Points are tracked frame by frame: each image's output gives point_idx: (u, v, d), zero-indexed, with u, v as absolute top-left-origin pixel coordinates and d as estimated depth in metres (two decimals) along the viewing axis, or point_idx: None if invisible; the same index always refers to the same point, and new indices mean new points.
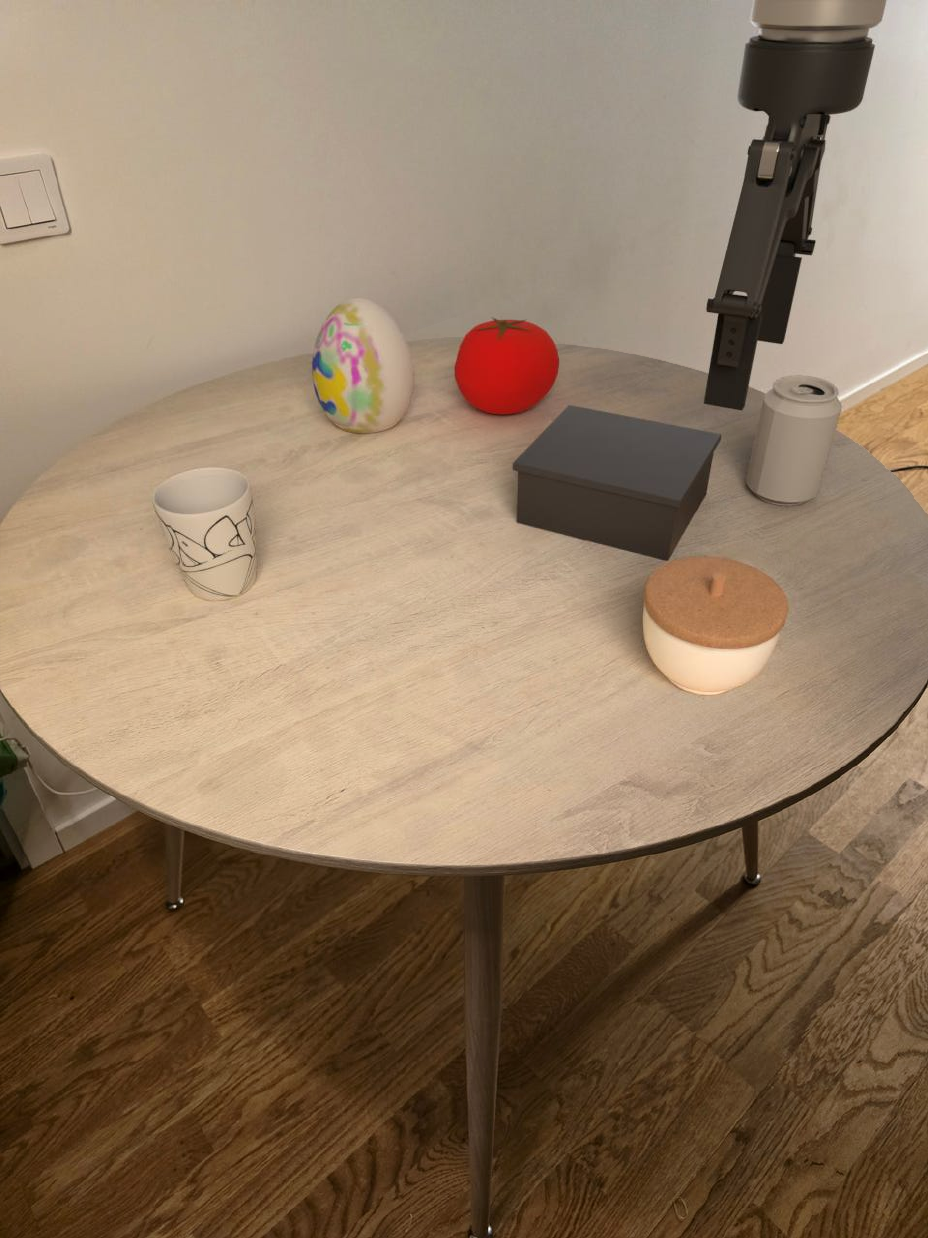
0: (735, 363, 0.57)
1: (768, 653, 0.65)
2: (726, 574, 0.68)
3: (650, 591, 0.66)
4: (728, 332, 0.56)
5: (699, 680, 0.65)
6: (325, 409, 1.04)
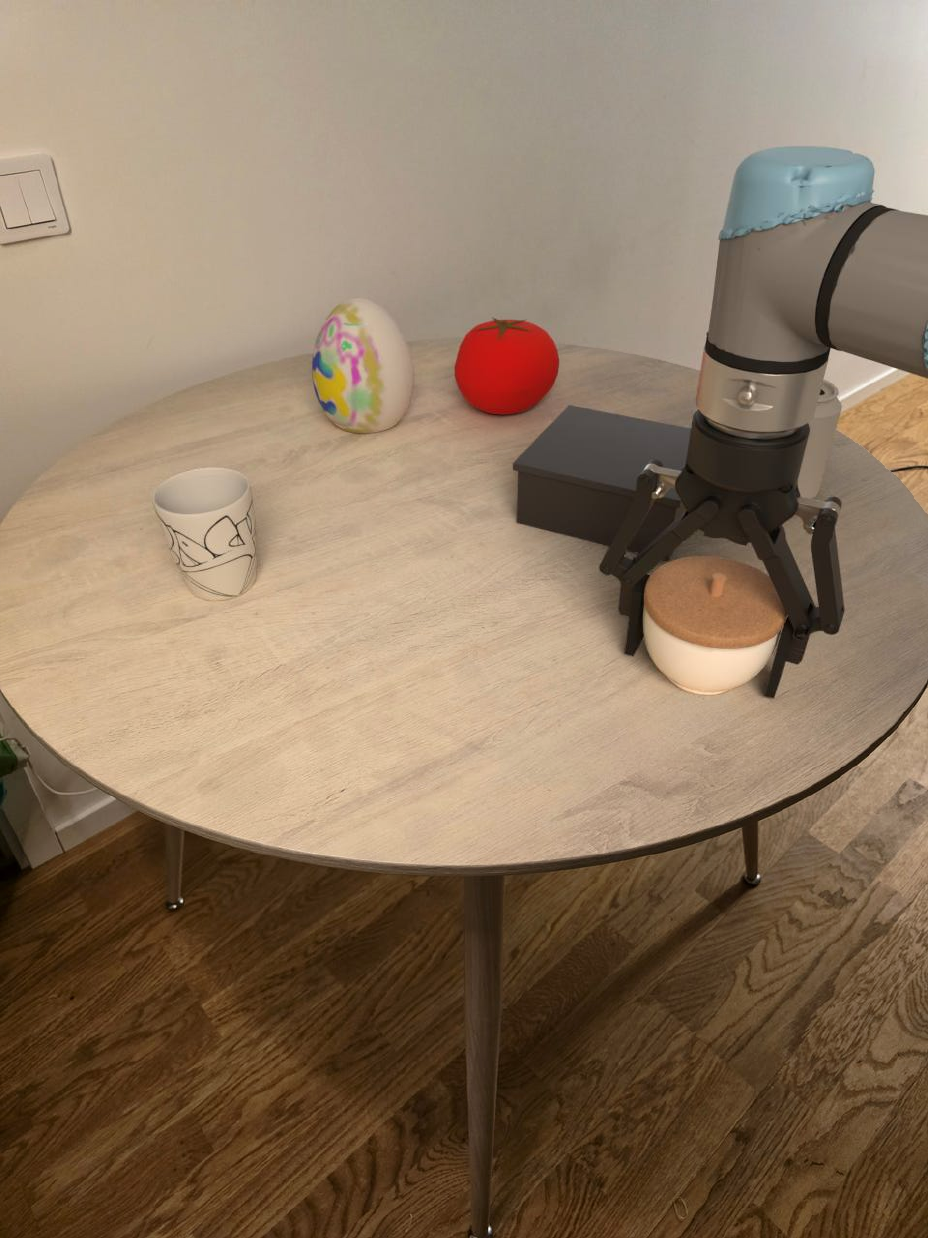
0: None
1: (768, 653, 0.65)
2: (726, 574, 0.68)
3: (650, 591, 0.66)
4: (808, 639, 0.64)
5: (699, 680, 0.65)
6: (325, 409, 1.04)
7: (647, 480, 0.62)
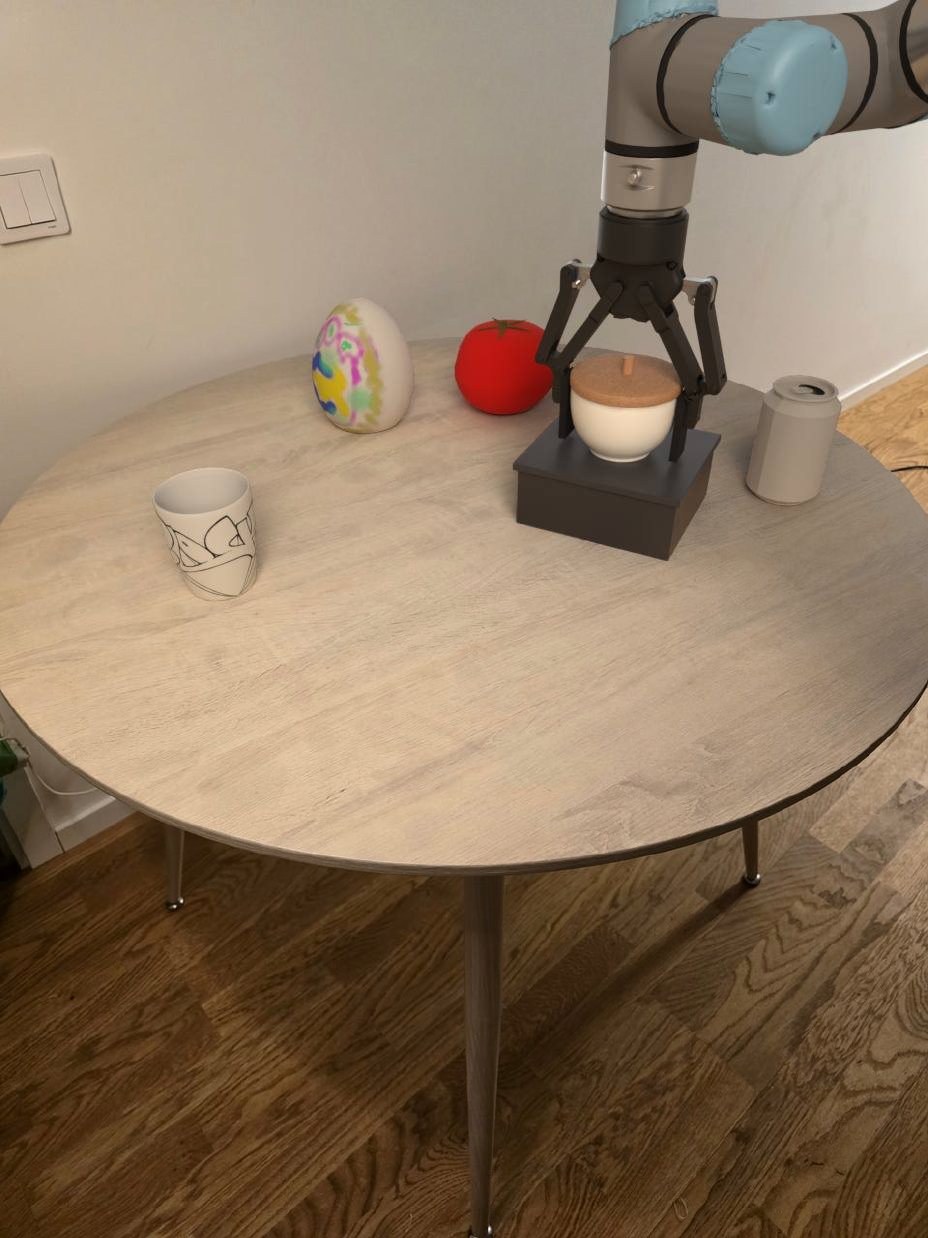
0: (697, 421, 0.82)
1: (668, 417, 0.80)
2: (637, 362, 0.83)
3: (574, 372, 0.82)
4: (699, 405, 0.80)
5: (613, 441, 0.81)
6: (325, 409, 1.04)
7: (568, 271, 0.77)
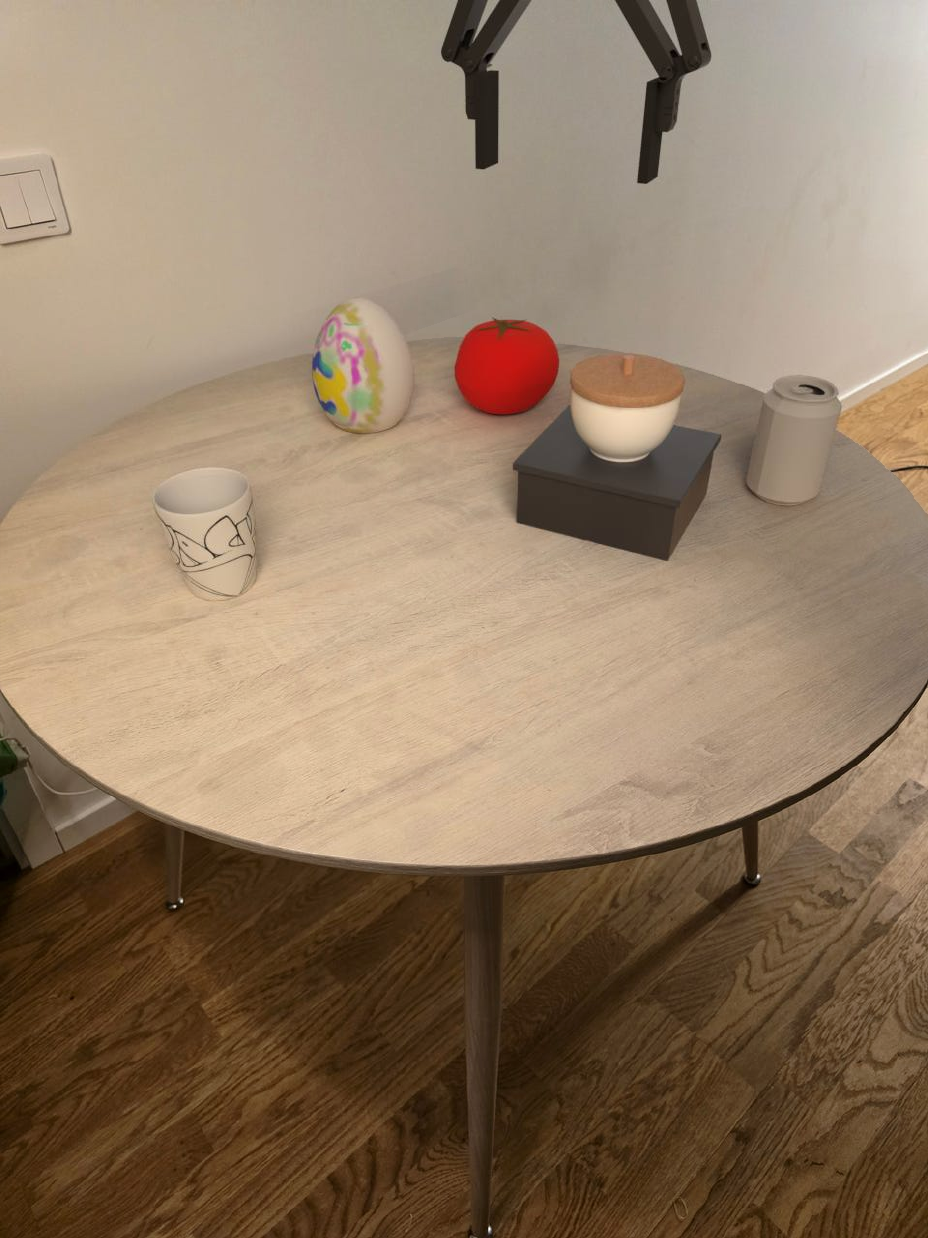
0: (674, 125, 0.63)
1: (668, 417, 0.80)
2: (637, 362, 0.83)
3: (575, 372, 0.82)
4: (676, 95, 0.61)
5: (613, 441, 0.81)
6: (325, 409, 1.04)
7: None
